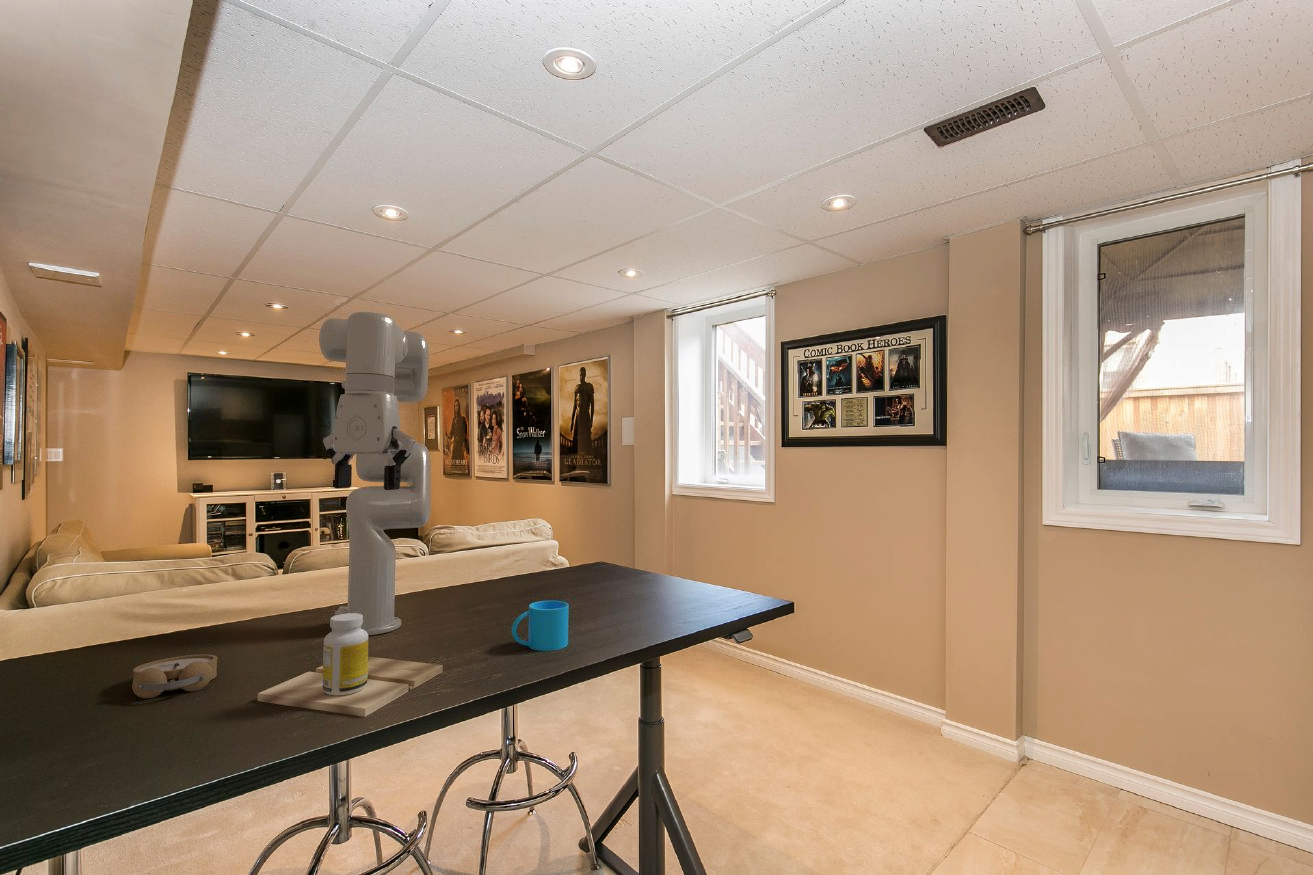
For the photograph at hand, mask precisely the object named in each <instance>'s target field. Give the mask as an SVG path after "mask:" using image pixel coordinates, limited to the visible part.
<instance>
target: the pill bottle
mask: <svg viewBox="0 0 1313 875" xmlns="http://www.w3.org/2000/svg"><path fill="white" fill-rule="evenodd" d="M362 623H363V616H362V615H361V614H358V613H347V614H340V615H336V616H335V615H333V616H332V617H330V622H329V627H330V628H331V631H330V632H329V633H327V634H326V635H325V637H324V638H323V648H322V656H323V657H322V666H323V691H324V692H325V693H326V694H329V695H336V696H338V695H347V694H352V693H355V692H358V691H360V690H362V689H363V688H364V687H365V686H366V685H367V678H368V657H369V635H368V633H367V632H366V631H365V630H363V629H361V625H362Z"/></svg>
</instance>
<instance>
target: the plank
mask: <svg viewBox="0 0 1313 875" xmlns="http://www.w3.org/2000/svg"><path fill="white" fill-rule="evenodd" d="M408 692H409V690H408V684H402V683H394V682H386V681H378V680H370V679H367V685H366V686H365V687H364V688H363V689H362V690H360V691H358V692H355V693H352V694H347V695H338V696H336V695H329V694H326V693H325V692H324V691H323V673H316V671H315V672H314V671H313V672H312V671H307V672H304V673H301V674H300V675H298V676H296V677H293V678H290V679H288V680H285V681H283V682H282V683H279V684H276V685H274V686H272V687H269V688H267V689H265V690H262V691H260V692H258V693H257V702H263V703H269V704H276V705H280V706H281V705H283V706H289V707H296V708H303V709H308V710H309V709H310V710H315V711H316V710H318V711H322V712H324V711H325V712H330V713H337V714H343V715H344V714H345V715H350V716H351V715H352V716H358V717H368V716H369V715H371V714H373V713H375V712H376V711H377V710H379V709H381V708H382V707H384V706H386V705H388V704H390V703H391V702H393V701H395V700H397V699H398V698H400V697H401V696H403V695H405V694H406V693H408Z"/></svg>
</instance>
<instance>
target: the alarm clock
mask: <svg viewBox="0 0 1313 875" xmlns="http://www.w3.org/2000/svg"><path fill="white" fill-rule="evenodd" d="M217 666H218V656H217V655H215V654H214V655H213V654H192V655H191V654H190V655H181V656H175V657H168V658H163V659H158V660H154V661H150V662H146V663H143V664H140V665H138V666H135V667H134V668H133V680H132V685H131V687H132V691H133V693H134V695H136V696H137V697H138V698H140V699H152V698H157V697H159V696H160V695H161V694H162V693H164V692H165V691H173V690H181V689H182V690H184V691H185V692H196V691H200V690H202V689H204V688H205V687H206V686H207V685H208V684H209V683H210V681H211V680H213V679H215V678H216V677H217V675H218V673H217V669H218V668H217Z"/></svg>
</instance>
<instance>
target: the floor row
mask: <svg viewBox="0 0 1313 875" xmlns="http://www.w3.org/2000/svg"><path fill="white" fill-rule="evenodd" d="M443 668H444V667H443V665H442V664H436V663H435V664H434V663H425V662H418V661H409V660H408V661H407V660H401V659H394V658H393V659H392V658H385V657H384V658H383V657H375V656H368V678H367V679H370V680H378V681H386V682H394V683H402V684H408V691H412V690H413V689H415V688H417V687H419V686H420V685H422V684H424V683H425V682H428V681H430V680H431V679H432V678H434V677H436V676H439V674H442V673H443V670H444V669H443ZM315 673H323V665H320V666H318V667H316V668H315Z"/></svg>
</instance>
